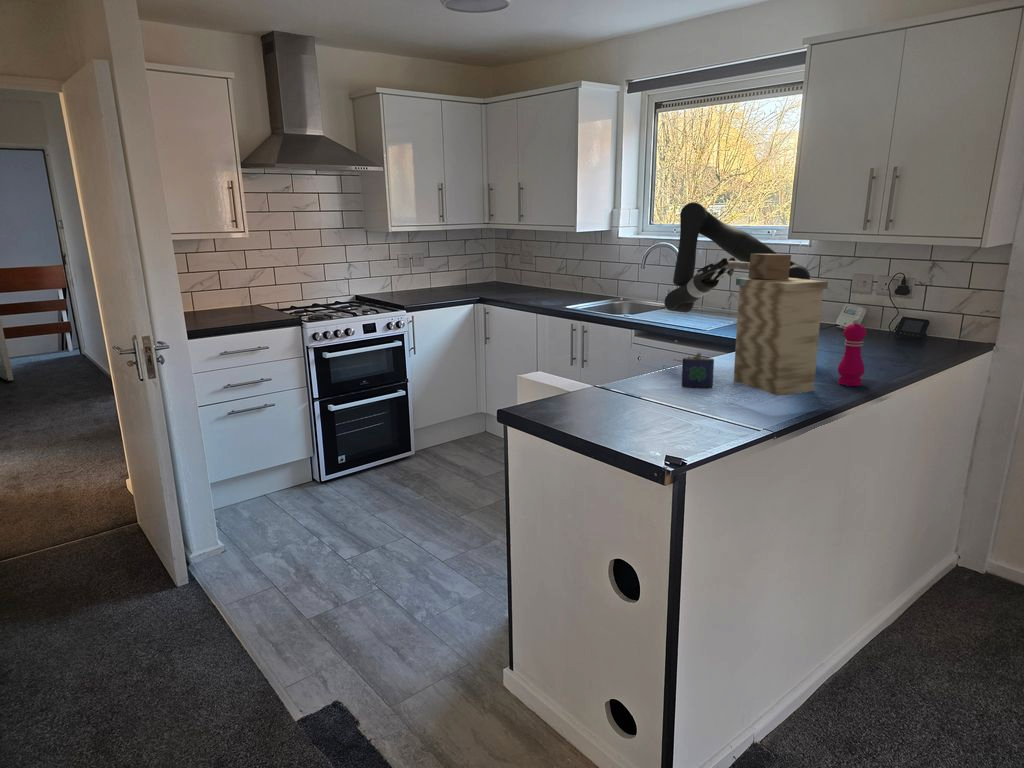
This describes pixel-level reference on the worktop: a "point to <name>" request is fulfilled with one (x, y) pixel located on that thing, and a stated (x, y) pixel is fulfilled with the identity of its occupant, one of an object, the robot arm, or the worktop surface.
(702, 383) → the flask
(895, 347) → the worktop surface
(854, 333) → the pepper mill
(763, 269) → the wooden mallet
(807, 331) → the stand
